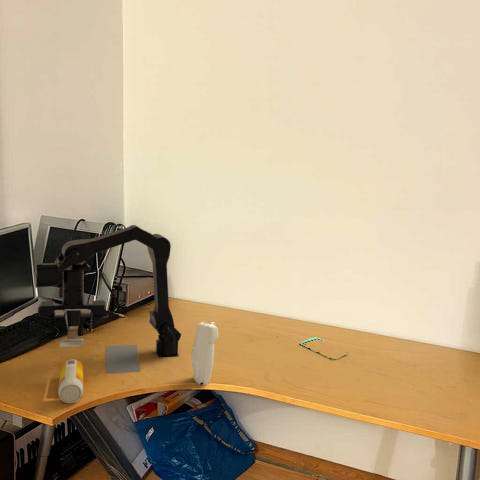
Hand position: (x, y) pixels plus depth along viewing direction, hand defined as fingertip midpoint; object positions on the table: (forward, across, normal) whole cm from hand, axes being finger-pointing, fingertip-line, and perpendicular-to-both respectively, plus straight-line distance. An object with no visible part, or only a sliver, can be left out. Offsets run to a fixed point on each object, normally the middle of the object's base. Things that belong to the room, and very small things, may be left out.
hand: (73, 335), depth 147 cm
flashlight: (+10, -37, +14) cm, 41 cm away
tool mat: (+10, -14, -4) cm, 18 cm away
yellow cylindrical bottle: (+7, 0, +7) cm, 10 cm away
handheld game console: (+11, -84, -5) cm, 85 cm away
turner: (+1, 0, +2) cm, 2 cm away
